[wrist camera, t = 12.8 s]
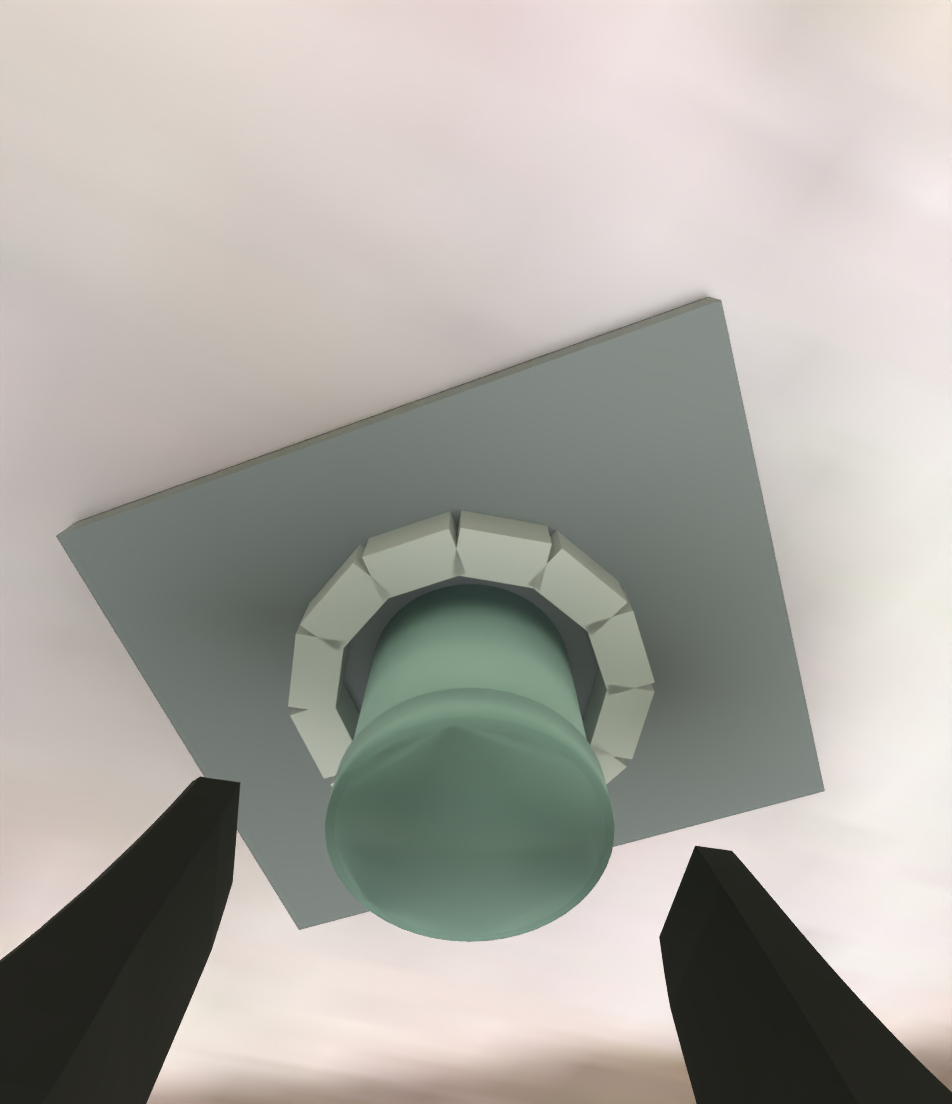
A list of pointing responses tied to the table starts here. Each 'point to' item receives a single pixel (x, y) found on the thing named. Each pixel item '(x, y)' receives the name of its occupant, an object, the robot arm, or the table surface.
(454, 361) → the table surface
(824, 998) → the robot arm
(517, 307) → the table surface
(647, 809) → the socket board
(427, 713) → the cup
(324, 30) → the table surface
